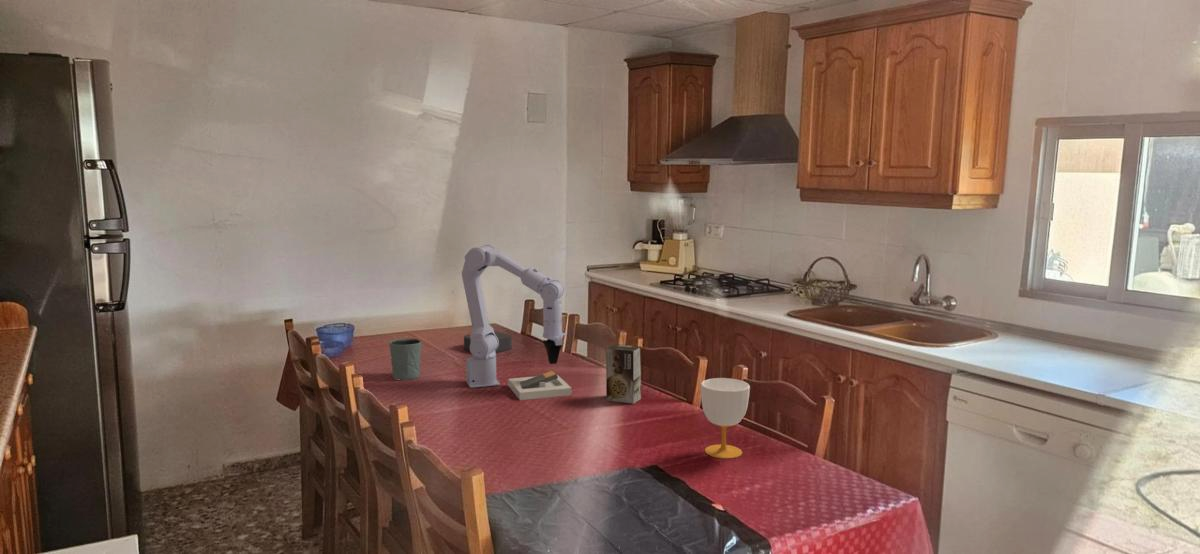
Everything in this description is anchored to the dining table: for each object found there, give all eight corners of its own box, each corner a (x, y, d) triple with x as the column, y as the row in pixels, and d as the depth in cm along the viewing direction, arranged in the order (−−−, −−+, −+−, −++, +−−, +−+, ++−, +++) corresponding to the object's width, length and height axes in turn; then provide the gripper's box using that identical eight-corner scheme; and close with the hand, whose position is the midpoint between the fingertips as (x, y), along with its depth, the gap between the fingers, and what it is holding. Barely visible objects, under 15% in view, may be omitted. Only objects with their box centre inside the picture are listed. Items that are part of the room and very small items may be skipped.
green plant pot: (384, 379, 255) (383, 343, 253) (403, 371, 264) (402, 336, 263) (410, 382, 251) (409, 346, 250) (428, 374, 261) (427, 339, 259)
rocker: (524, 390, 238) (523, 386, 238) (520, 385, 243) (519, 381, 243) (558, 378, 241) (556, 374, 241) (553, 374, 246) (552, 370, 246)
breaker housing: (520, 400, 233) (519, 388, 232) (508, 385, 248) (508, 375, 247) (571, 395, 238) (571, 384, 237) (557, 381, 253) (557, 370, 252)
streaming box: (461, 349, 297) (460, 336, 296) (491, 343, 307) (491, 330, 307) (484, 356, 287) (484, 342, 286) (515, 349, 297) (514, 336, 297)
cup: (736, 464, 183) (738, 394, 181) (691, 454, 189) (692, 386, 187) (755, 449, 193) (757, 382, 191) (711, 440, 199) (712, 375, 197)
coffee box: (641, 398, 235) (642, 346, 232) (633, 404, 229) (634, 350, 227) (614, 394, 238) (614, 343, 236) (605, 400, 233) (605, 347, 230)
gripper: (571, 323, 235) (572, 367, 237) (558, 315, 249) (559, 356, 251) (549, 325, 233) (549, 369, 235) (537, 316, 247) (537, 358, 249)
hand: (553, 363), depth 243 cm, fingers closed
